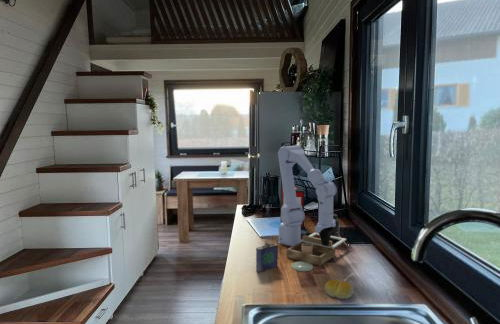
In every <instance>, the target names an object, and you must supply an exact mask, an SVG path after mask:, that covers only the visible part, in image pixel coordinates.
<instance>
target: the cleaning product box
mask: <svg viewBox="0 0 500 324" xmlns="http://www.w3.org/2000/svg"><path fill="white" fill-rule="evenodd" d="M294 185H295V191H296V198H297V202H298V203H299V204H300V205H302V209H303V211H304V212H305V190H304V189H302V188H301V187H300V186H298V185H297V184H294ZM279 193H280V198H279V199H280V204H279V205H280V206H279V207H280V219H279V221H280V223H281V222H282V221H281V208H282V207H283V206H284V204H285V199H284V192H283V186H282V185H280V192H279ZM290 210H293V209H290ZM282 223H283V222H282ZM303 230H305V219H304V220H303V221H302V224H301V231H303Z"/></svg>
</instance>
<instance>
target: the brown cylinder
mask: <svg viewBox="0 0 500 324" xmlns="http://www.w3.org/2000/svg"><path fill="white" fill-rule="evenodd" d="M301 252H304V253H308V254H312V255H313V244H311V243H302V251H301Z"/></svg>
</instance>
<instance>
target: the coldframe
mask: <svg viewBox="0 0 500 324" xmlns="http://www.w3.org/2000/svg"><path fill="white" fill-rule="evenodd" d="M302 243H306V242H302V241H301V242H300V243H298V244H296V245H294V246H290V247H289V248H287V249H286V258H289V259H292V260H298V261H300V262H308V263H311V264H312V265H315V266H316V265H317V266H319V267H321V266H323V264H326V263H327V262H328V261H330V260H331V259H332V258H334V257H335V256H336V247H335V248H334V249H332V248H328V247H324V246H319V245H315V244H313V255H312V254H308V253H304V252H301V251H302Z"/></svg>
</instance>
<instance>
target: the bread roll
mask: <svg viewBox="0 0 500 324" xmlns="http://www.w3.org/2000/svg"><path fill="white" fill-rule="evenodd" d="M354 291H355V289H354V287H353V285H352V284H351V283H349V282H348V281H345V280H343V281H340V280H338V279H331V280H328V281H327V282H325V284H324V292H325V293H326V295H327V296H329V297H331V298H332V297H333V298H337V299H340V300H346V299H350V298H351V297H352V296H353V295H354Z"/></svg>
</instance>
